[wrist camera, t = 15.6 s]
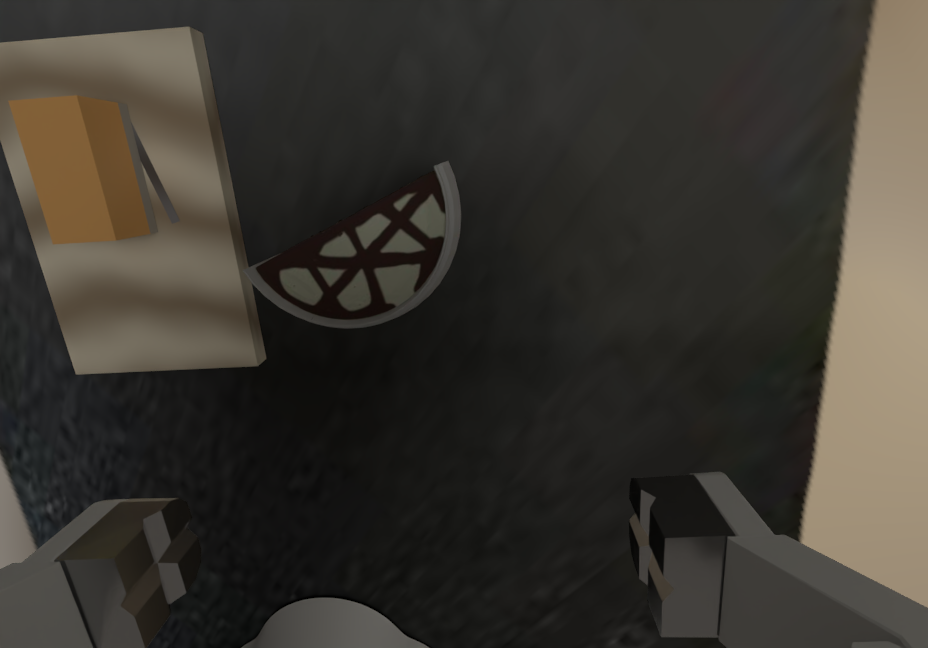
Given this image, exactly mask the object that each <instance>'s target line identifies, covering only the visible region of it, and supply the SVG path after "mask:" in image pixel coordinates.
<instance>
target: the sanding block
mask: <svg viewBox="0 0 928 648" xmlns="http://www.w3.org/2000/svg"><path fill="white" fill-rule="evenodd" d="M8 102H9V105H10V108H11V112H12V115H13V118H14V121H15V124H16V128H17V131H18V134H19V137H20V140H21V144H22V147H23V150H24V153H25V156H26V160H27V163H28V166H29V169H30V172H31V176H32V179H33V182H34V185H35V188H36V192H37V195H38V198H39V201H40V205H41V208H42V211H43V214H44V217H45V221H46V224H47V227H48V230H49V233H50V237H51V240H52V243H53V244H68V243H85V242H101V241H117V240H122V239H127V238H132V237H137V236H142V235H147V234H152V233H157V232H158V230H157V226H156V221H155V217H154V213H153V209H152V205H151V201H150V197H149V193H148V189H147V185H146V181H145V177H144V173H143V169H142V165H141V161H140V157H139V152H138V148H137V144H136V140H135V136H134V132H133V128H132V124H131V120H130V116H129V112H128V108H127V104H122V103H117V102H111V101H106V100H100V99H95V98H89V97H83V96H78V95H74V96H61V97H48V98H36V99H23V100H10V101H8Z"/></svg>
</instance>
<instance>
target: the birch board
mask: <svg viewBox="0 0 928 648" xmlns="http://www.w3.org/2000/svg"><path fill="white" fill-rule="evenodd" d="M74 95H78V96H83V97H89V98H95V99H100V100H106V101H111V102H117V103H122V104H127V108H128V112H129V116H130V120H131V124H132V128H133V132H134V136H135V140H136V144H137V148H138V152H139V157H140V161H141V165H142V169H143V173H144V177H145V181H146V185H147V189H148V193H149V197H150V201H151V205H152V209H153V213H154V217H155V221H156V226H157V230H158V232H157V233H152V234H147V235H142V236H137V237H132V238H127V239H122V240H117V241H101V242H85V243H68V244H53V243H52V240H51V237H50V233H49V230H48V227H47V224H46V221H45V217H44V214H43V211H42V208H41V205H40V201H39V198H38V195H37V192H36V188H35V185H34V182H33V179H32V176H31V172H30V169H29V166H28V163H27V160H26V156H25V153H24V150H23V147H22V144H21V140H20V137H19V134H18V131H17V128H16V124H15V121H14V118H13V115H12V112H11V108H10V105H9V102H8V101H10V100H23V99H36V98H48V97H61V96H74ZM0 141H1V144H2V147H3V150H4V153H5V156H6V160H7V163H8V166H9V169H10V172H11V175H12V178H13V181H14V184H15V187H16V191H17V194H18V197H19V200H20V203H21V206H22V209H23V212H24V215H25V218H26V221H27V225H28V228H29V231H30V234H31V237H32V240H33V243H34V246H35V249H36V252H37V256H38V259H39V262H40V265H41V268H42V271H43V274H44V277H45V280H46V283H47V286H48V290H49V293H50V296H51V299H52V302H53V305H54V308H55V311H56V314H57V317H58V321H59V324H60V327H61V330H62V333H63V336H64V339H65V342H66V345H67V348H68V351H69V355H70V358H71V361H72V364H73V367H74V370H75V373H76V374H97V373H119V372H141V371H163V370H185V369H207V368H229V367H251V366H259V365H260V364H261V363H262V362H263V361H264V360H266V354H265V348H264V343H263V338H262V333H261V328H260V323H259V318H258V313H257V308H256V303H255V297H254V292H253V287H252V282H251V281H250V280H249V278H248V277H247V276H246V274H245V273H244V272H243V271H242V270H244V269H247V268H249V267H248V262H247V257H246V251H245V246H244V241H243V236H242V231H241V226H240V221H239V216H238V211H237V206H236V200H235V195H234V190H233V185H232V180H231V175H230V170H229V165H228V160H227V155H226V149H225V144H224V139H223V134H222V129H221V124H220V119H219V114H218V109H217V104H216V98H215V93H214V88H213V83H212V78H211V73H210V68H209V63H208V58H207V53H206V47H205V42H204V37H203V33H201V32H199V31H197V30H195V29H193V28H191V27H181V28H169V29H157V30H145V31H133V32H122V33H110V34H98V35H86V36H75V37H63V38H51V39H39V40H27V41H16V42H4V43H0Z"/></svg>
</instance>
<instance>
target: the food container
mask: <svg viewBox="0 0 928 648" xmlns="http://www.w3.org/2000/svg"><path fill="white" fill-rule="evenodd" d="M460 224H461V208H460V197H459V192H458V188H457V184H456V180H455V176H454V174H453V172H452V169H451V167H450V164H449V162H448V161H446V162H443V163H441V164H439V165H436V166H434V171H432V172H430V173H428V174H426V175H424V176H421V177H420V178H418V179H417V180H416V181H414V182H412V183H410V184H408V185H407V186H405V187H401V188H400V189H399V190H397V191H395V192H394V193H392V194H390V195H388V196H386V197H384V198H383V199H381V200H379V201H377V202H375V203H374V204H372V205H370V206H366V207H365V208H363V210H361V211H359V212H357V213H355V214H353V215H351V216H350V217H348V218H346V219H344V220H340V221H339V222H338V223H337V224H335V225H333V226H331V227H329V228H328V229H326V230H324V231H322V232H321V231H320V232H319V233H318V234H316V235H315V236H311V238H309V239H307V240H305V241H303V242H301V243H299V244H297V245H295V246H294V247H291V248H290V249H288V250H286V251H284V252H282V253H280V254H278V255H276V256H274V257H271V258H269V259H267V260H265V261H262V262H260V263H258V264H256V265H253V266H251V267H249V268H247V269H244V270H242V271H243V272H244V273H245V274H246V276H247V277H248V278H249V280H250V281H251V282H252V284H253V285H254V286H255V287H256V288H257V289H258V290H259V291H260V292H261V293H262V294H263V295H264V296H265V297H266V298H268V299H269V300H270V301H272V302H273V303H274V304H276V305H277V306H278V307H280V308H281V309H283V310H285V311H287V312H288V313H290V314H292V315H294V316H296V317H299V318H301V319H304V320H306V321H309V322H311V323H315V324H319V325H323V326H327V327H334V328H345V329H349V328H364V327H368V326H373V325H377V324H381V323H384V322H386V321H389V320H391V319H394V318H396V317H399V316H401V315H403V314H405V313H407V312H408V311H410V310H412V309H413V308H415V307H417V306H418V305H419V304H420V303H421V302H423V301H424V300H425V299H426V298H427V297H428V296H430V294H431V293H432V292H433V291H434V290H435V288H436V287H437V286H438V285H439V284H440V283H441V281H442V279H443V278H444V276H445V274H446V273H447V271H448V269H449V267H450V265H451V262H452V260H453V257H454V255H455V252H456V249H457V244H458V240H459V235H460Z"/></svg>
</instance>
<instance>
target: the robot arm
mask: <svg viewBox="0 0 928 648" xmlns="http://www.w3.org/2000/svg"><path fill="white" fill-rule="evenodd" d="M629 499H630V501H631V504H632V506H633V509H634V511H635V514H634V515H633V516H632V517H631V519H630V520H629V538H630V546H631V554H632V557H633V561H634V565H635V568H636V571H637V574H638V577H639V579H640V580H642V581H643V582H644V583H646V584H647V585H648V600H647V601H648V603H649V606H650V609H651V611H652V614H653V616H654V619H655V622H656V624H657V627H658V629H659V632H660V635H661V637H719V641H720V642H721V643H723V644H724V645H725V646H726V647H727V648H928V608H927V607H924V606H923V605H921V604H919V603H917V602H915V601H913V600H911V599H909V598H907V597H905V596H903V595H901V594H899V593H897V592H895V591H893V590H892V589H890V588H888V587H885V586H884V585H882V584H879V583H878V582H876V581H874V580H872V579H870V578H868V577H866V576H864V575H862V574H860V573H858V572H856V571H854V570H852V569H850V568H848V567H846V566H844V565H843V564H841V563H839V562H837V561H835V560H833V559H831V558H829V557H827V556H825V555H823V554H821V553H819V552H817V551H815V550H813V549H811V548H809V547H807V546H805V545H803V544H801V543H799V542H797V541H795V540H793V539H792V538H790V537H788V536H786V535H774V534H773V533H772V531H771V530H770V529H769V528H768V526H767V525H766V524H765V523H764V521H763V520H762V519H761V518H760V517H759V515H758V514H757V513H756V512H755V510H754V509H753V508H752V507H751V505H750V504H749V503H748V502H747V500H746V499H745V498H744V497H743V496H742V494H741V493H740V492H739V491H738V489H737V488H736V487H735V486H734V484H733V483H732V482H731V481H730V480H729V478H728V477H727V476H726V475H725V474H723V473H721V472H709V473H696V474H690V475H676V476H659V477H643V478H631V482H630V492H629ZM191 519H192V515H191V512H190V509H189V506H188V503H187V502H186V501H184V500H182V499H180V498H153V499H129V500H127V499H117V500H104V501H100V502H96V503H94V504H92V505H91V506H90V507H89V508H87V509H86V510H85V511H84V512H83V513H81V514H80V515H79V516H78V517H77V518H75V519H74V520H73V521H72V522H70V523H69V524H68V525H67V526H66V527H64V528H63V529H62V530H61V531H60V532H58V533H57V534H56V535H55V536H53V537H52V538H51V539H50V540H49V541H47V542H46V543H45V544H44V545H43V546H41V547H40V548H39V549H38V550H36V551H35V552H34V553H33V554H32V555H30V556H29V557H28V558H27V559H25V560H24V561H23V562H22V563H12V564H10V565H8V566H6V567H4V568H2V569H0V648H147V646H148V645H149V644H150V642H151V641H152V639H153V638H154V637H155V635H156V634H157V633H158V631H159V630H160V628H161V627H162V626H163V624H164V623H165V622H166V620H167V619H168V617H169V616H170V615H171V609H170V604H171V603H172V602H173V601H175V600H176V599H178V598H179V597H181V596H182V595H184V594H185V593H187V591H188V590H189V588H190V587H191V585H192V584H193V582H194V581H195V579H196V577H197V573H198V570H199V567H200V564H201V547H200V543H199V539H198V537H197V536H196V535H195V534H194V533H193V532H191V531H190V530H189V529H188V528H187V527H188V525H189V523H190V521H191ZM241 648H429V647H428V646H426V645H424V644H422V643H420V642H418V641H416V640H414V639H411V638H409V637H407V636H406V635H404V634H403V633H402V632H401V631H400V630H399V629H398V628H397V627H396V626H395V625H394V624H393V623H392V622H391V621H389V620H388V619H387V618H386V617H384V616H383V615H381V614H380V613H378V612H377V611H375V610H373V609H371V608H369V607H367V606H364V605H362V604H359V603H356V602H353V601H349V600H344V599H338V598H311V599H305V600H301V601H298V602H295V603H292V604H290V605H287V606H285V607H284V608H282V609H280V610H279V611H277V612H276V613H275V614H274V615H272V616H271V617H270V618H269V620H268V621H267V622H266V623H265V625H264V627H263V628H262V630H261V632H260V633H259V635H258V636H257V637H256V638H255V639H254V640H252V641H251V642H249V643H247V644H246V645H244V646H243V647H241Z"/></svg>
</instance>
